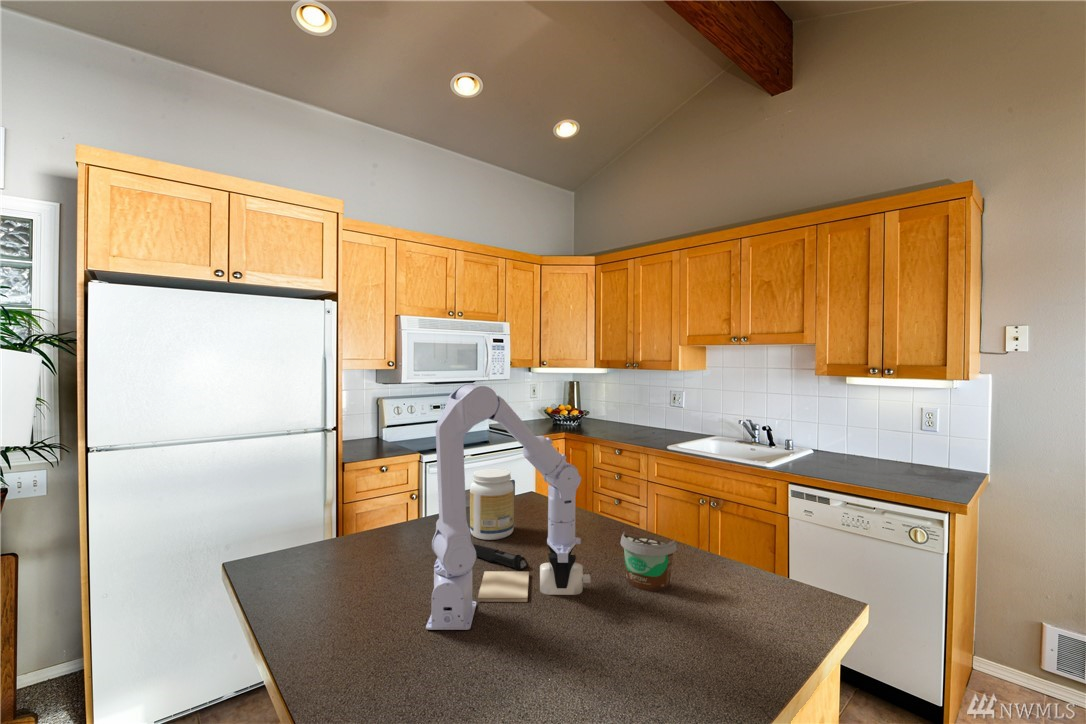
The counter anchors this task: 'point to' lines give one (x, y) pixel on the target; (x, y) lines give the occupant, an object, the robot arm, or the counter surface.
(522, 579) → the cutting board
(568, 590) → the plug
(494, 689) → the counter surface
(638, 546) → the food container
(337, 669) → the counter surface
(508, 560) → the electric trimmer
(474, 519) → the supplement tub
